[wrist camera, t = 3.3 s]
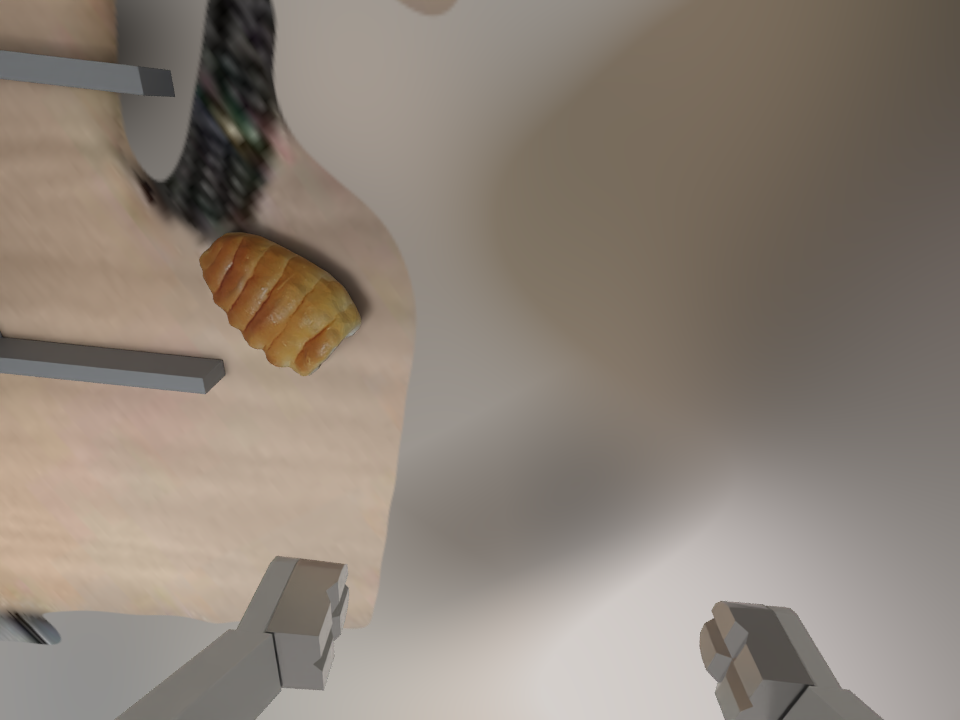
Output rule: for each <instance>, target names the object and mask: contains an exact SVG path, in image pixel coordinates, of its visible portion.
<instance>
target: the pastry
mask: <svg viewBox="0 0 960 720" xmlns="http://www.w3.org/2000/svg"><path fill="white" fill-rule="evenodd" d="M199 261H200V266H201V267H202V270H203V277H204V279H205V281H206V283H207V285H208V286H209V288H210V290H211V292H212V293H213V300H214V302H215V303H216V304H217V305H218V306H219V307H221V308H222V309H223V310H224V311H225V312H226V313H227V315H228V320H229V324H230V325H231V326H233V327H235V328H237V329H239V330H240V331H241V332H242V334H243V336H244V339H245V340H246V341H247V342H248V344H249V345H250V346H251V347H253V348H255V349H262V350H264V351H265V353H266V358H267V360H268V361H269V362H270V363H271V364H273V365H275V366H277V367H290V368H292V369H293V370H294V371H295V372H297V373H299V374H300V375H301V376H307V375H311V374H312V373H314V372H315V371H316V370H317V369H319V368H320V366H321V364H322V363H323V362H324V361H325V360H326V359H327V358H328V357H329V355H330V354H331V353H332V352H333V351H334V350H335V349H336V347H337V346H338V345H339V344H340V342H341V341H342V340H343V339H344V338H347V337H349V336H352V335H353V334H354V333H355V332H356V331H357V330H358V329H359V327H360V324H361V318H360V315H359V312H358V310H357V308H356V306H355V304H354V303H353V301H352V299H351V298H350V296H349V294H348V292H347V291H346V289H345V287H344V286H342V285H341V284H340V283H339V282H338V281H336V280H335V279H334V278H333V277H332V276H331V275H330V273H328V272H326V271H324V270H323V269H321V268H319V267H318V266H317V265H315V264H314V263H311V262H309V261H308V260H306V259H305V258H303V257H301V256H299V255H297V254H295V253H293V252H291V251H289V250H288V249H287V248H284V247H282V246H281V245H278V244H276V243H274V242H272V241H270V240H268V239H266V238H264V237H261V236H258V235H253V234H248V233H243V232H232V233H226V234H224V235H223V236H222V237H220V238H218V239H217V240H216V241H215V242H214V243H213V244H212V245H211V247H210V248H209V249H208V250H206V251H205V252H204V253H203V254H202V255H201V257H200V259H199Z"/></svg>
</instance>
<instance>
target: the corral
mask: <svg viewBox="0 0 960 720" xmlns="http://www.w3.org/2000/svg"><path fill="white" fill-rule="evenodd" d="M0 79H7V80H15V81H24V82H33V83H41V84H50V85H59V86H67V87H76V88H84V89H93V90H102V91H110V92H119V93H129V94H137V95H148V96H170V97H175V94H174V88H173V82H172V77H171V72H170V70H163V69H154V68H146V67H138V66H131V65H122V64H114V63H105V62H97V61H88V60H79V59H71V58H62V57H54V56H45V55H37V54H28V53H20V52H11V51H3V50H0ZM0 373H6V374H16V375H25V376H35V377H45V378H54V379H64V380H74V381H84V382H93V383H103V384H113V385H123V386H132V387H142V388H152V389H161V390H171V391H181V392H191V393H200V394H206V393H207V392H208V391H209V390H210V389H211V388H212V387H213V386H215V385H216V384H217V383H218V382H219V381H220V380H221V379H222V378H223V377H224V376H225V371H224V366H223V360H216V359H206V358H197V357H187V356H178V355H168V354H158V353H149V352H139V351H130V350H120V349H110V348H101V347H91V346H82V345H72V344H63V343H53V342H43V341H34V340H24V339H15V338H5V337H2V334H1V332H0Z"/></svg>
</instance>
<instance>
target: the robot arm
mask: <svg viewBox="0 0 960 720" xmlns="http://www.w3.org/2000/svg"><path fill="white" fill-rule="evenodd" d="M347 576H348V567H347V564H341V563H333V562H325V561H317V560H308V559H301V558H292V557H282V556H276V557H275V558H274V559H273V561H272V562H271V563H270V565H269V567H268V569H267V571H266V573H265V574H264V576H263V578H262V580H261V582H260V584H259V586H258V588H257V590H256V592H255V594H254V596H253V598H252V600H251V602H250V604H249V606H248V608H247V610H246V612H245V614H244V616H243V618H242V620H241V622H240V624H239V626H238V628H237V630H231V629H229V630H228V631H226V632H225V633H224V634H223V635H221V636H220V637H219V638H218V639H216V640H215V641H214V642H212V643H211V644H210V645H209V646H207V647H206V648H205V649H204V650H202V651H201V652H200V653H198V654H197V655H196V656H195V657H193V658H192V659H191V660H190V661H188V662H187V663H186V664H184V665H183V666H182V667H181V668H179V669H178V670H177V671H176V672H174V673H173V674H172V675H170V676H169V677H168V678H167V679H165V680H164V681H163V682H162V683H161V684H159V685H158V686H157V687H155V688H154V689H153V690H151V691H150V692H149V693H148V694H146V695H145V696H144V697H143V698H141V699H140V700H139V701H138V702H136V703H135V704H134V705H132V706H131V707H130V708H129V709H127V710H126V711H125V712H124V713H122V714H121V715H120V716H118V717H117V718H116V719H115V720H255V719H256V718H257V717H258V716H259V715H260V714H261V713H262V712H263V710H264V709H265V708H266V707H267V706H268V705H269V704H270V703H271V702H272V700H273V699H274V698H275V697H276V696H277V695H278V694H279V693H280V692H281V688H295V689H312V690H324V688H325V685H326V682H327V679H328V675H329V672H330V669H331V665H332V662H333V659H334V640H335V639H337V638H338V637H339V636H340V635H341V632H342V629H343V625H344V622H345V617H346V613H347V608H348V599H349V588H348V587H347V586H346V585H345V583H346V579H347ZM712 613H713V615H714V619H712V620H710V621H708V622H706V623H705V624H704V626H703V628H702V630H701V632H700V650H701V656H702V659H703V662H704V665H705V668H706V670H707V671H708V672H709V673H710V675H711V676H712V677H713V678H714V679H715V680H716V681H717V682H718V683H717V687H716V691H715V695H716V697H717V700H718V703H719V705H720V708H721V710H722V713H723V716H724V718H725V720H884V719H882V718H881V717H880V716H879V715H878V714H877V713H875V712H874V711H873V710H872V709H871V708H870V707H868V706H867V705H866V704H865V703H864V702H863V701H861V700H860V699H859V698H858V697H857V696H856V695H855V694H853V693H852V692H851V691H850V690H846V689H842V688H841V686H840V685H839V683H838V682H837V680H836V678H835V676H834V675H833V673H832V671H831V670H830V668H829V666H828V665H827V663H826V661H825V660H824V658H823V656H822V655H821V653H820V652H819V650H818V648H817V647H816V645H815V644H814V642H813V640H812V638H811V637H810V635H809V634H808V632H807V630H806V629H805V627H804V625H803V623H802V622H801V620H800V618H799V617H798V615H797V614H796V613H795V612H794V611H793V610H792V609H791V608H786V607H777V606H765V605H763V604H750V603H739V602H727V601H720V602H718V603H716V604H715V606H714V607H713V609H712Z"/></svg>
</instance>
